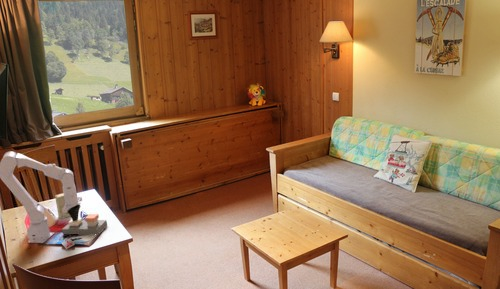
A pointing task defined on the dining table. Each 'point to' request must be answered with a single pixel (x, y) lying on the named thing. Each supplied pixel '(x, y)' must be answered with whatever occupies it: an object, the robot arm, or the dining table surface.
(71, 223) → the cream cube block
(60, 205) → the skincare box
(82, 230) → the panel
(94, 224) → the terracotta plunger
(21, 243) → the dining table surface
